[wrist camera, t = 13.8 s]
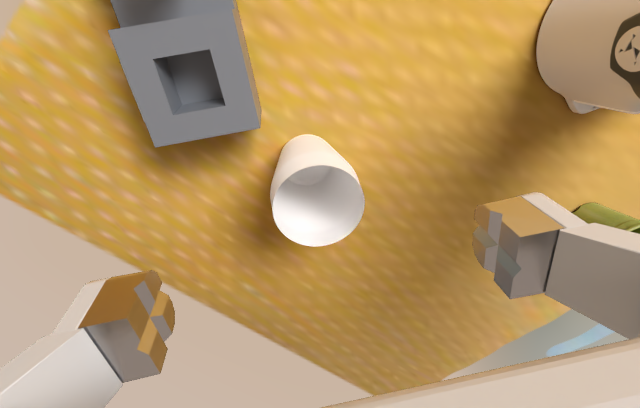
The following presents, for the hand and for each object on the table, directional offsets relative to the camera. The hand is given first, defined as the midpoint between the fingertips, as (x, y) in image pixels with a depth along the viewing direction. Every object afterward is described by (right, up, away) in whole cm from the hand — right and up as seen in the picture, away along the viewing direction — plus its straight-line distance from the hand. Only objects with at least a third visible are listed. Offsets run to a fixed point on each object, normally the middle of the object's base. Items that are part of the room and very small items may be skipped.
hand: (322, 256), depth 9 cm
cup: (-2, +7, +34) cm, 35 cm away
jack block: (-13, +20, +25) cm, 35 cm away
